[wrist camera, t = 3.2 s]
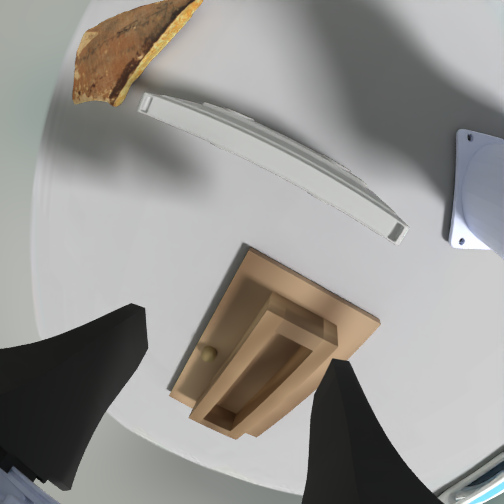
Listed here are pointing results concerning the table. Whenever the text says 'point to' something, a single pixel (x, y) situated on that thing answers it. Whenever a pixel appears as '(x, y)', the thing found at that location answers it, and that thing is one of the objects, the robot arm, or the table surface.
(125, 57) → the shard
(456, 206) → the robot arm
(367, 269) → the table surface
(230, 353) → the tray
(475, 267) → the table surface
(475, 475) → the white step stool
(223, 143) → the cassette
